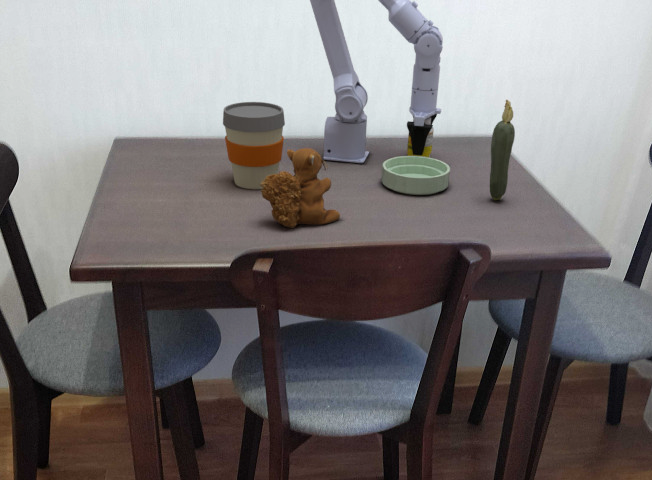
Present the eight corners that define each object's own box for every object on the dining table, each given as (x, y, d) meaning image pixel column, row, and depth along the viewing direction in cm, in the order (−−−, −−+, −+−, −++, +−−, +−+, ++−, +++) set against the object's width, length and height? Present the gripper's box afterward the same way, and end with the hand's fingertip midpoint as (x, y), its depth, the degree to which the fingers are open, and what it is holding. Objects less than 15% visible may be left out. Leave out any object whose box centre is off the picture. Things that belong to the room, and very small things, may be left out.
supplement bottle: (401, 160, 178) (405, 115, 172) (421, 157, 180) (425, 113, 175) (414, 167, 174) (418, 122, 168) (435, 164, 176) (439, 119, 171)
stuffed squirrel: (343, 219, 148) (346, 151, 140) (287, 238, 139) (286, 166, 132) (309, 204, 153) (309, 138, 146) (253, 221, 145) (251, 152, 138)
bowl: (376, 192, 160) (377, 174, 158) (387, 171, 172) (388, 153, 169) (444, 199, 158) (446, 180, 156) (450, 177, 170) (452, 159, 167)
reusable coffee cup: (214, 184, 161) (209, 111, 153) (247, 168, 170) (244, 98, 162) (264, 196, 156) (263, 121, 148) (296, 178, 166) (296, 107, 157)
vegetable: (504, 206, 156) (519, 104, 145) (482, 203, 157) (496, 103, 146) (504, 198, 160) (520, 99, 149) (483, 196, 160) (497, 97, 149)
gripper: (440, 97, 161) (433, 161, 169) (446, 81, 173) (440, 141, 181) (406, 94, 163) (402, 158, 170) (415, 79, 174) (410, 139, 182)
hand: (419, 149), depth 176 cm, fingers open, 7 cm apart
